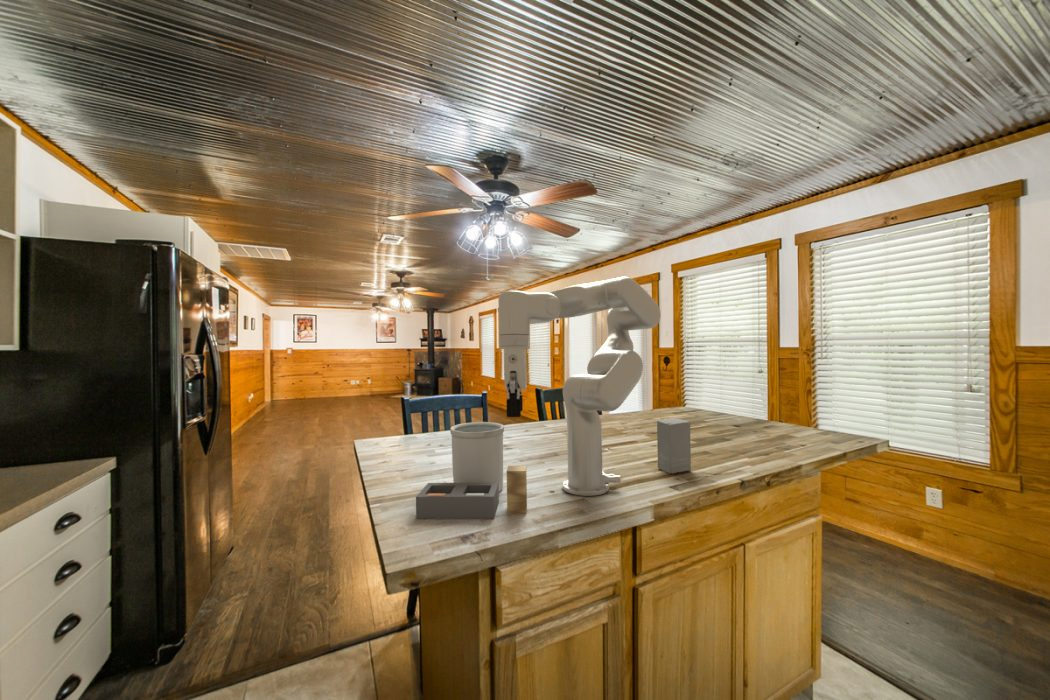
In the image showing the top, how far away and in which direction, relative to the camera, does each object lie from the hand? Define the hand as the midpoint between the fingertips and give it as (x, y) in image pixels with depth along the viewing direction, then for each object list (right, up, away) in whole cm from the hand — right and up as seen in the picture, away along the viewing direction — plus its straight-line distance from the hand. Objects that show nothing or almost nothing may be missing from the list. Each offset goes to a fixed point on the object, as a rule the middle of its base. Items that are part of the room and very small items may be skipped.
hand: (515, 413), depth 95 cm
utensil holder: (-11, -24, +15) cm, 30 cm away
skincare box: (+50, -23, +30) cm, 62 cm away
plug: (+1, -23, 0) cm, 23 cm away
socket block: (-13, -23, 0) cm, 27 cm away
